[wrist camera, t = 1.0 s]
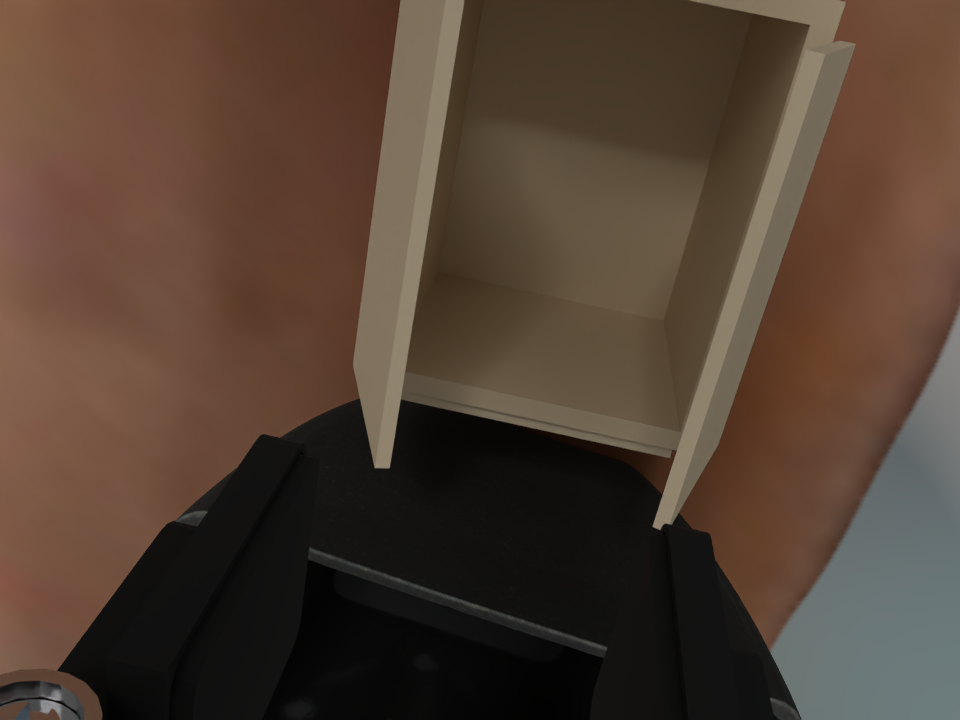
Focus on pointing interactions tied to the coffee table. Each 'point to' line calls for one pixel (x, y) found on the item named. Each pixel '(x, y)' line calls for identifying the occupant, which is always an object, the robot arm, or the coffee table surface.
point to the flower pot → (466, 573)
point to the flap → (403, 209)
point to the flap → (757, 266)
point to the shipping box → (598, 205)
